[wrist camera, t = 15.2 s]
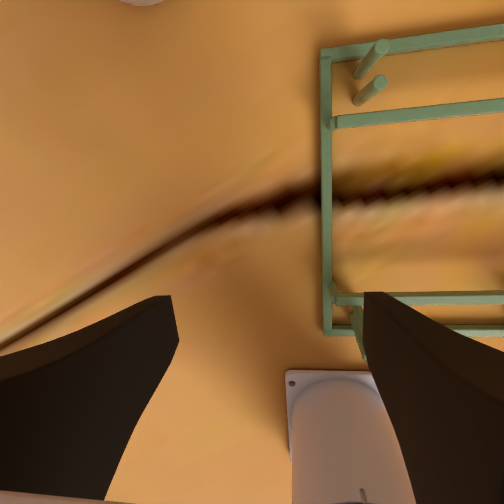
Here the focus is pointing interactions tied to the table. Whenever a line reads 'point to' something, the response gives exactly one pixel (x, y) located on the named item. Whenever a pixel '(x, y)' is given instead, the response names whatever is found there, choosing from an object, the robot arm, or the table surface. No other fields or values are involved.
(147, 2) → the beverage can
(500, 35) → the rack
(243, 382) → the table surface
